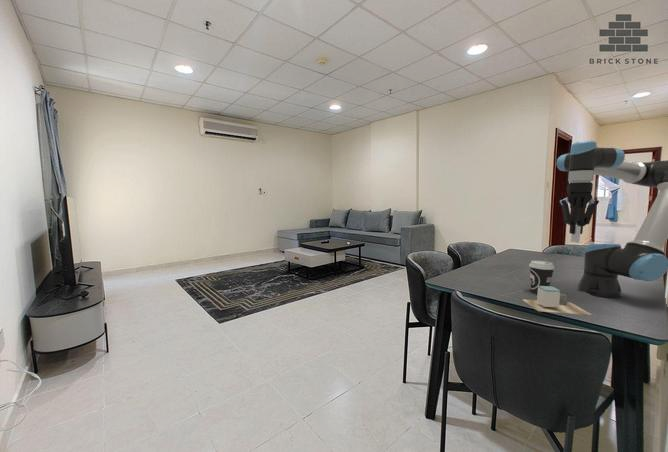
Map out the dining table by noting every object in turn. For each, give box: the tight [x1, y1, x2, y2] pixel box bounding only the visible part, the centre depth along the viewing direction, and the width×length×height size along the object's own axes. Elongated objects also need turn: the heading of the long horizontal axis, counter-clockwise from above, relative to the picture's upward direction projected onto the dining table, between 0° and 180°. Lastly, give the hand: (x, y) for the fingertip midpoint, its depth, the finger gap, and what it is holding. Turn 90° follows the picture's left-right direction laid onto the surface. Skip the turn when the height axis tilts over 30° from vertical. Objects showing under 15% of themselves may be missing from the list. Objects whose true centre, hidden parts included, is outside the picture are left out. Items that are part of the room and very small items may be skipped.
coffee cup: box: [528, 260, 556, 295], centre depth 131 cm, size 10×10×15 cm
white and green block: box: [536, 285, 561, 307], centre depth 113 cm, size 5×5×7 cm
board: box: [521, 298, 593, 316], centre depth 114 cm, size 18×13×1 cm
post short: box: [559, 292, 568, 305], centre depth 117 cm, size 3×3×4 cm
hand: (575, 242), depth 115 cm, fingers closed
